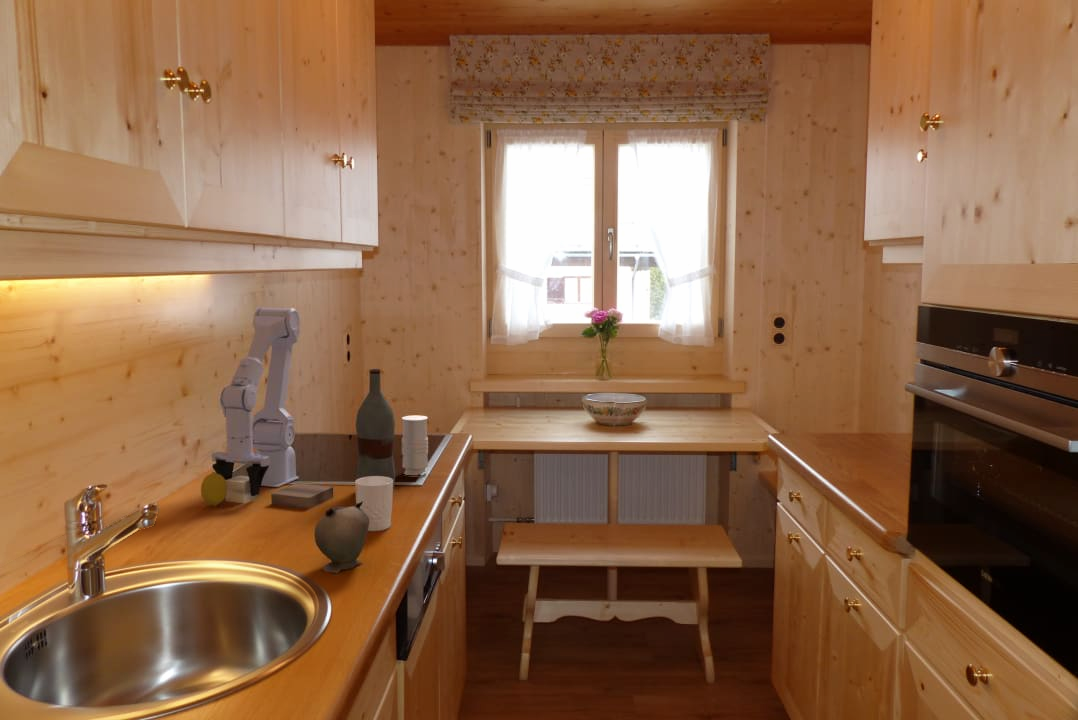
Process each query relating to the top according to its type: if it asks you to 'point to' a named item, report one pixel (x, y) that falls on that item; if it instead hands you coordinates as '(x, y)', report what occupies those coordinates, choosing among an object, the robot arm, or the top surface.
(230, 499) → the maple cube
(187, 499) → the top surface
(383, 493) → the white cup
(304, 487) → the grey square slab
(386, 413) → the bottle
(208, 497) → the lemon
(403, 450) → the stack of cups
